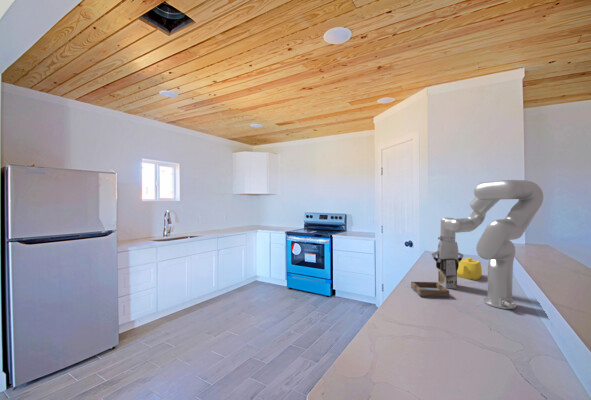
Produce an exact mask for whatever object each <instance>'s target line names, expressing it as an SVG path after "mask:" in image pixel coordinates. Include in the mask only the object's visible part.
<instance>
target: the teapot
mask: <svg viewBox="0 0 591 400" xmlns="http://www.w3.org/2000/svg"><path fill="white" fill-rule="evenodd" d="M482 275H483V272H482V264H481V260H474V259H473V258H472V257H466V258H462V260H461V261H460V262H459V267H458V270H457V278H461V279H467V280H472V281H477V280H479V279H481V278H482Z"/></svg>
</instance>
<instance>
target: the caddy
mask: <svg viewBox="0 0 591 400" xmlns="http://www.w3.org/2000/svg"><path fill="white" fill-rule="evenodd" d="M410 288H411V289H412V291H414V292H415V293H416V294H417V295H418V296H419V297H420V298H443V299H444V298H448V299H449V298H450V290H449V289H448V288H445V287H443V286H442V285H440V284H439V283H438V282H437V281H411V282H410Z"/></svg>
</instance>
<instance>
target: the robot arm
mask: <svg viewBox="0 0 591 400" xmlns="http://www.w3.org/2000/svg"><path fill="white" fill-rule="evenodd" d="M473 194H474V198H473V199H472V200H471V201H470V203H469V206H470V208H471V209H472V210H473V211H472V213H470V214H469V216H467V217H466V218H465V217H463V218H454V217H442V218H441V219H440V236H438V237H437V239H438V240H439V241H438V244H437V251H434V252H433V253H431V257H432V258H433V260H434V261H435V267H436V269H440V265H441V263H440V261H441V260H442V259H443V260H444V259H456V260H457V270H458V267H459V262H460V261H461V260H462V259H464V257H465V255H464V254H462V253H461V252H459V247H458V242H457V241H456V233H457V234H458V233H460V234H461V233H470V232H473V231H474V230H476V229H478V227H479V226H481V225H482V224H483V222H484V221H485V219H486V217H487V216H486V215H487V213H488V211H490V209H492V208H493V207H494V206H495V205H496V204H497V203H498V202H499V201H501V200H518V201H517V202H516V203H515V204H514V205H513V206H512V207H511V208H510V210H509V212H508V214H507V215H506V217H504V218H500V219H495V220H492V221H490V222H489V224H487V226H486V228H485V229H484V230H483V233H482V234H481V236H480V237H479V239H478V242H477V243H476V248H475V249H476V254H477V255H478V256H479V257H480V258H481V259H483V260H486V261H487V260H488V264H487V296H486V297H484V298H483V302H484V303H485V304H486V305H488V306H489V307H490V306H491V307H493V308H498V309H502V310H503V309H504V310H513V309H516V308H517V303H515V302H514V298H513V277H514V275H513V271H514V260H515V255H516V246H515V244H514V243H513V242H512V241H513V240H517V239H518V240H519V239H520V238H521V237H522V236H523V234H524V233H525V232H526V230H527V228H528V227H529V225H530V223H531V222H532V221H533V218H534V217H535V216H536V214H537V212H538V211H539V210H540V208H541V207H542V204H543V202H544V193H543V190H542V188H541V187H540V185H538V184H537V183H535V182H534V181H531V180H525V179H506V180H505V179H504V180H495V181H483V182H480V183H478V184H477V185H476V186H475V188H474V189H473ZM436 256H437V257H436Z"/></svg>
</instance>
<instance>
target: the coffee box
mask: <svg viewBox="0 0 591 400" xmlns="http://www.w3.org/2000/svg"><path fill="white" fill-rule="evenodd" d="M440 263H441V265H440V269H438V268H437V269H438V274H437V275H438V276H437V277H438V279H437V280H438V282H437V283H439V284H440V285H442V286H443V287H444V288H446V289H458V288H457V287H458V276H457V260H456V259H444V260H443V259H442V260H441V261H440Z"/></svg>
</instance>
